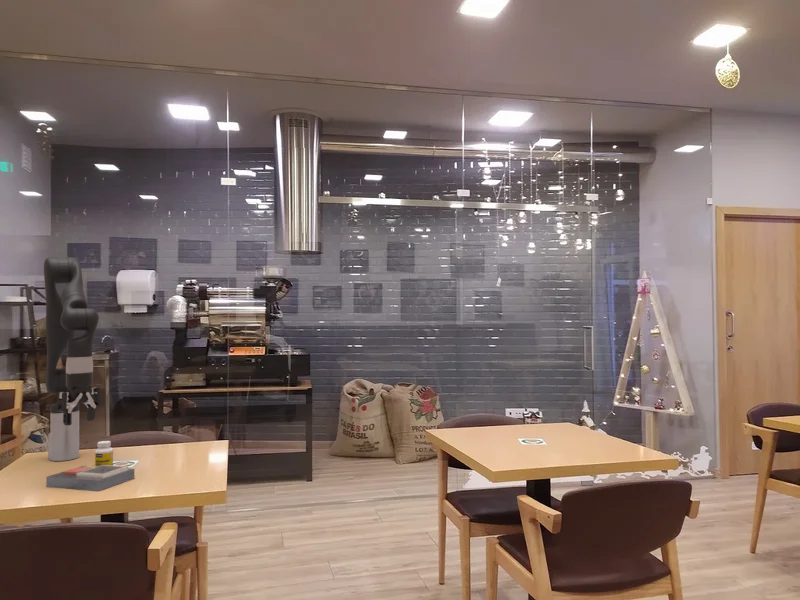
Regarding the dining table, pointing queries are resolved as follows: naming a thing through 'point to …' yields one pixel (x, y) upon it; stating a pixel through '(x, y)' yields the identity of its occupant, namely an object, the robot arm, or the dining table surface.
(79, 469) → the button
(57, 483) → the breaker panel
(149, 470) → the dining table surface
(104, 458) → the supplement bottle
